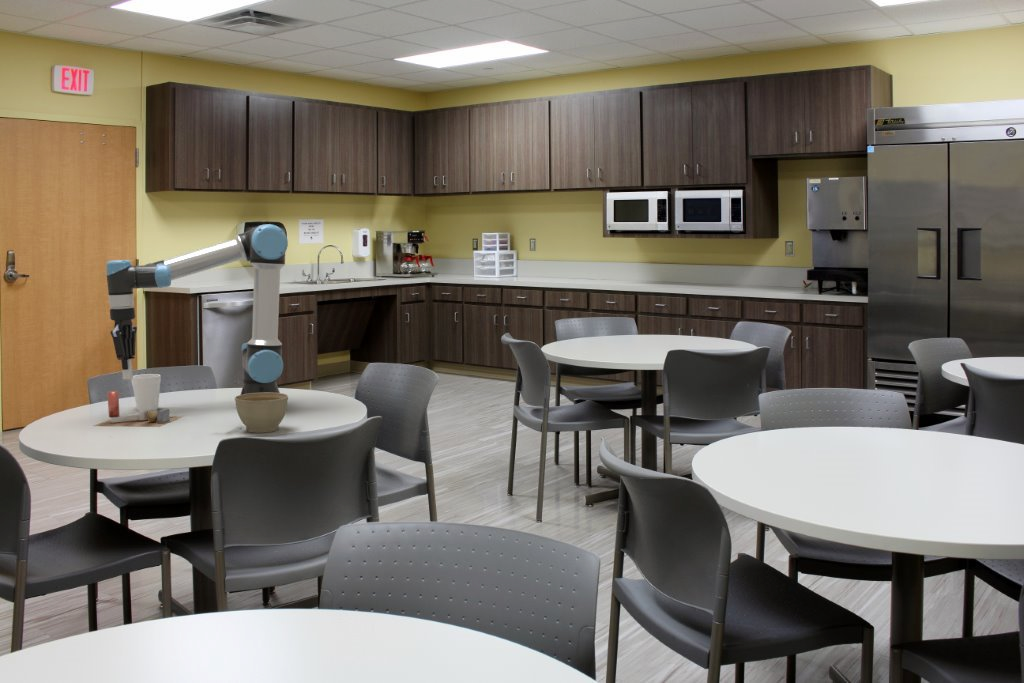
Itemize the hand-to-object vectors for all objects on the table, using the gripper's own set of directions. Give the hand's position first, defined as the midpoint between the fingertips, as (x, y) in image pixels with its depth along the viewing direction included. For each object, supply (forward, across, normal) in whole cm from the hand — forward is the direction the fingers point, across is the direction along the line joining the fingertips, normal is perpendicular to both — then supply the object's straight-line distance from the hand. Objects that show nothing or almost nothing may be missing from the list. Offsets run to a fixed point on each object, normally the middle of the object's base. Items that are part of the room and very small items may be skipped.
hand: (127, 378), depth 312 cm
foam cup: (+15, -15, -2) cm, 21 cm away
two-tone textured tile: (+13, +8, +15) cm, 22 cm away
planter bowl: (+16, +11, +49) cm, 53 cm away
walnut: (+11, +8, +12) cm, 18 cm away
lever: (+13, +6, +6) cm, 15 cm away
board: (+14, +6, +6) cm, 17 cm away
